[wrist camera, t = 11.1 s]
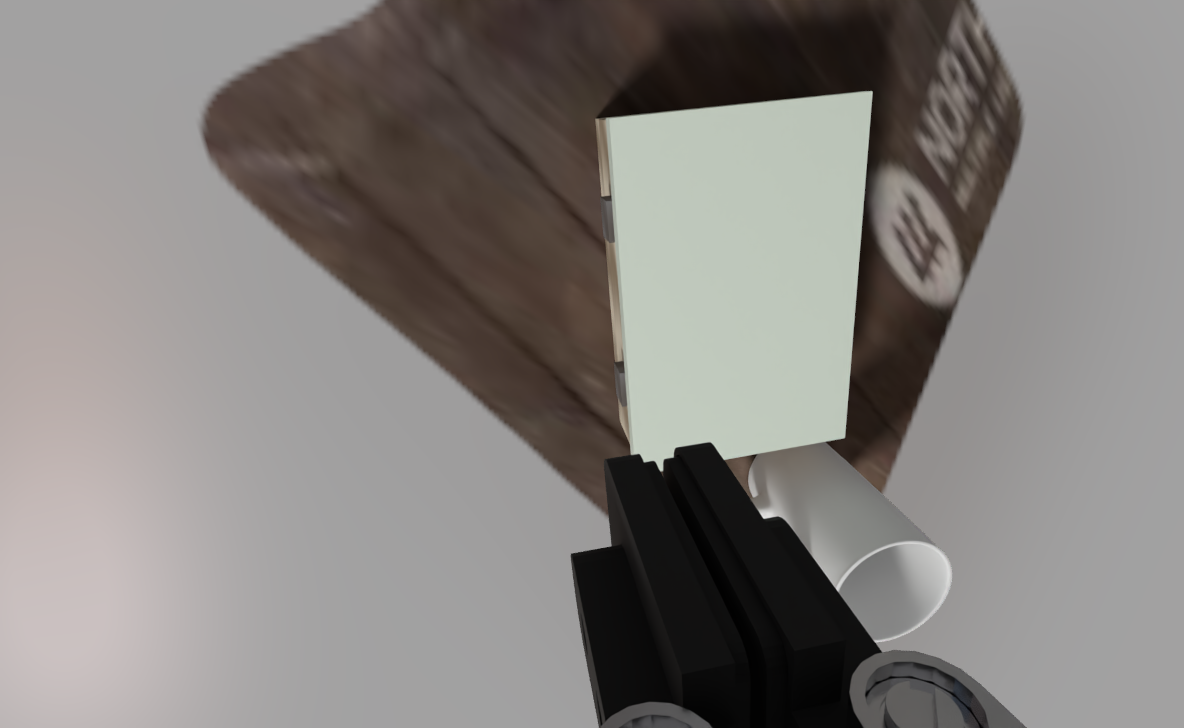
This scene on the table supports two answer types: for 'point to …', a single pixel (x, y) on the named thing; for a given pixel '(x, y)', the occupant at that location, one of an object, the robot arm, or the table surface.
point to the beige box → (613, 267)
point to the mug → (854, 537)
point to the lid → (739, 270)
